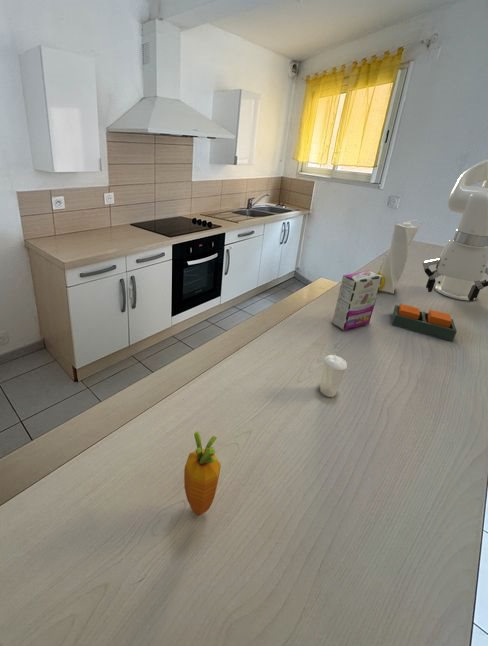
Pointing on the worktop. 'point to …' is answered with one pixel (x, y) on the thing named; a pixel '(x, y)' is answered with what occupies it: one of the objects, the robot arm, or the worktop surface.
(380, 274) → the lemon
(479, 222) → the robot arm
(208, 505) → the carrot
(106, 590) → the worktop surface
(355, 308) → the candy bar box
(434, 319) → the loose pad
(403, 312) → the seated pad
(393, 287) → the skyscraper
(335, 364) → the milkshake
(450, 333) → the pad holder
